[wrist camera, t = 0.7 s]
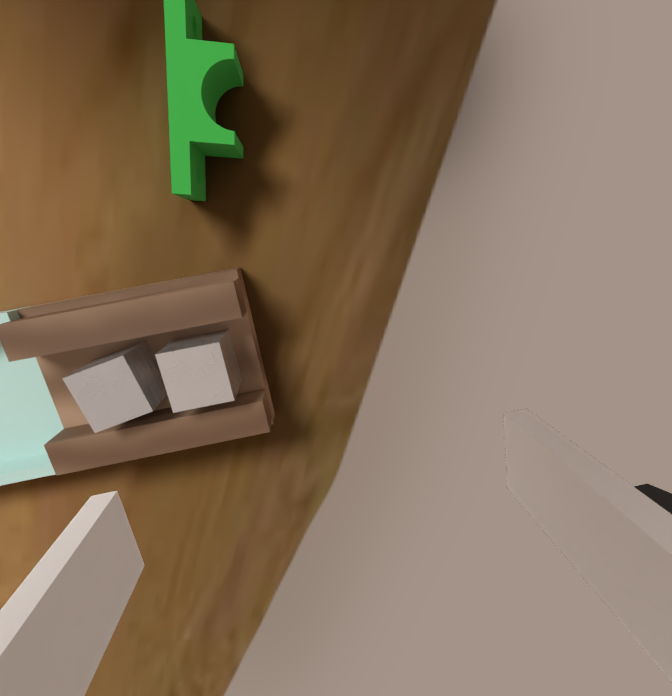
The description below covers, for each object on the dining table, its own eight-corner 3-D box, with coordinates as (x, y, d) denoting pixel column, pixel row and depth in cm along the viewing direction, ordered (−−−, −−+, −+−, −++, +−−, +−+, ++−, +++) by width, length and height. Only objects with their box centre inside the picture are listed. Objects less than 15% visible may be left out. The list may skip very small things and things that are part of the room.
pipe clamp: (244, 204, 29) (234, 198, 25) (190, 200, 29) (171, 194, 24) (243, 21, 26) (233, -22, 22) (184, 14, 26) (161, -31, 22)
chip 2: (173, 339, 29) (154, 354, 25) (229, 328, 29) (219, 342, 25) (188, 390, 30) (173, 412, 26) (242, 380, 30) (234, 400, 26)
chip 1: (93, 360, 29) (62, 378, 25) (145, 340, 29) (122, 355, 25) (120, 408, 30) (94, 433, 26) (171, 389, 30) (152, 411, 26)
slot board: (35, 305, 29) (-10, 316, 25) (240, 267, 30) (231, 271, 26) (90, 450, 33) (59, 483, 28) (274, 413, 33) (271, 439, 29)
